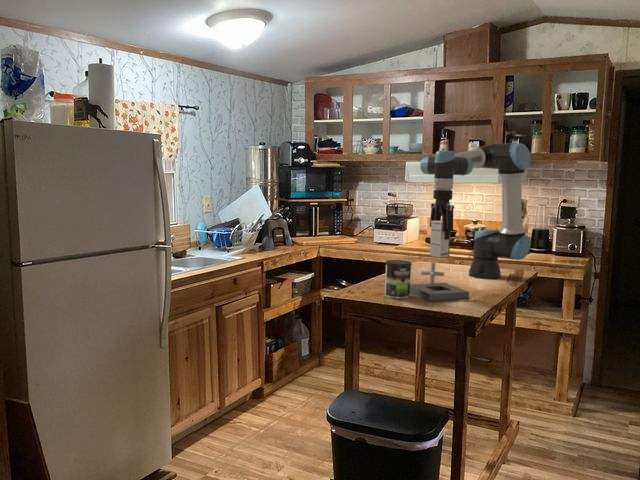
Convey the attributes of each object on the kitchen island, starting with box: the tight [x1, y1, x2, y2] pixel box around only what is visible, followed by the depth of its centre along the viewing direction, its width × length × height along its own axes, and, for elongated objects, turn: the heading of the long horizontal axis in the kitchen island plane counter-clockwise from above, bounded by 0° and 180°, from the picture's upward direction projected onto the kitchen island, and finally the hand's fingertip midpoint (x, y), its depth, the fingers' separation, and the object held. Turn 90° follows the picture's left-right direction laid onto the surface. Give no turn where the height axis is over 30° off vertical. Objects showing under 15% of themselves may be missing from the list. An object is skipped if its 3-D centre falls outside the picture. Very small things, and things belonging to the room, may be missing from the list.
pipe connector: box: [420, 261, 445, 284], centre depth 247 cm, size 10×10×10 cm
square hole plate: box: [410, 282, 470, 303], centre depth 226 cm, size 18×18×3 cm
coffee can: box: [384, 259, 412, 300], centre depth 223 cm, size 10×10×14 cm
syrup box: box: [429, 219, 452, 258], centre depth 223 cm, size 6×6×14 cm
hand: (440, 246), depth 224 cm, fingers closed on syrup box, 7 cm apart
